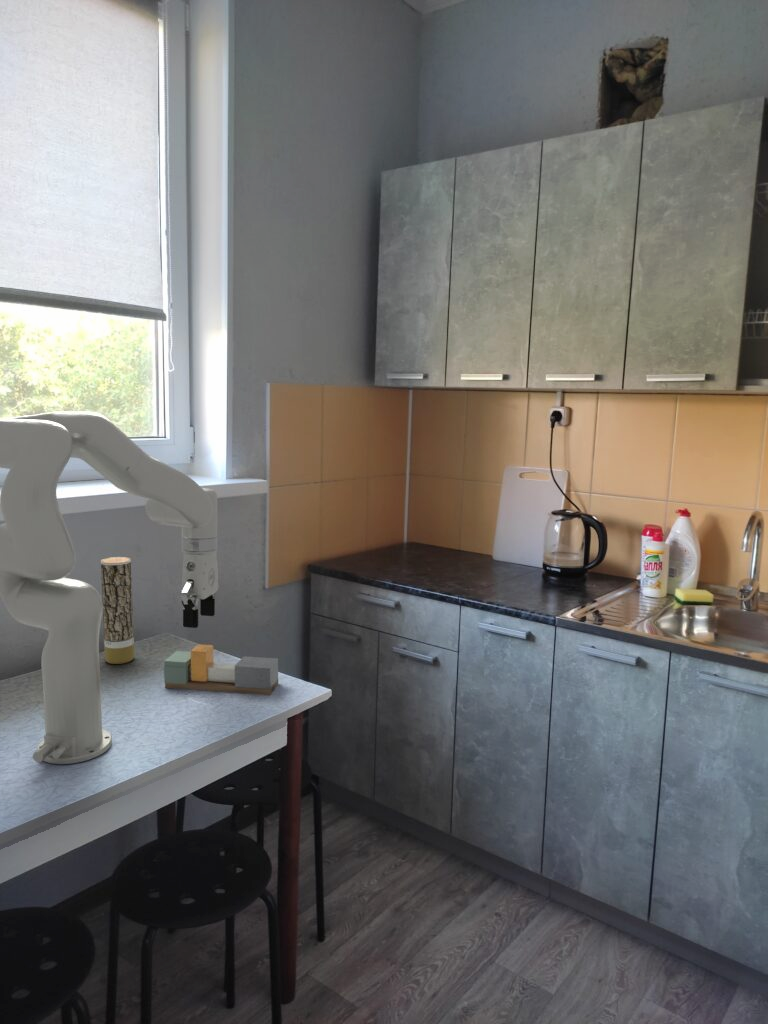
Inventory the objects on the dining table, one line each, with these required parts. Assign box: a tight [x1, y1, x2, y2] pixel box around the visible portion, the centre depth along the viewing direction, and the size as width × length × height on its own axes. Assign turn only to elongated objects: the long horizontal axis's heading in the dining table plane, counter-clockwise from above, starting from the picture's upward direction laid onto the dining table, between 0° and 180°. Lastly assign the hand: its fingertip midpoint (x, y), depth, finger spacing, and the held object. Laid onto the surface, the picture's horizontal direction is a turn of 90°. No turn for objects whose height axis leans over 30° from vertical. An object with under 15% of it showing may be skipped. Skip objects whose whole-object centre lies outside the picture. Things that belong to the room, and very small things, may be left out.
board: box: [164, 679, 279, 696], centre depth 164 cm, size 7×24×1 cm, turn 82°
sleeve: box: [235, 655, 279, 689], centre depth 163 cm, size 6×8×5 cm
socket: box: [163, 650, 191, 684], centre depth 165 cm, size 7×5×5 cm
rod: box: [188, 643, 237, 683], centre depth 164 cm, size 4×15×7 cm, turn 82°
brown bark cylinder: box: [100, 556, 135, 665], centre depth 177 cm, size 7×7×25 cm
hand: (199, 621), depth 162 cm, fingers open, 9 cm apart
